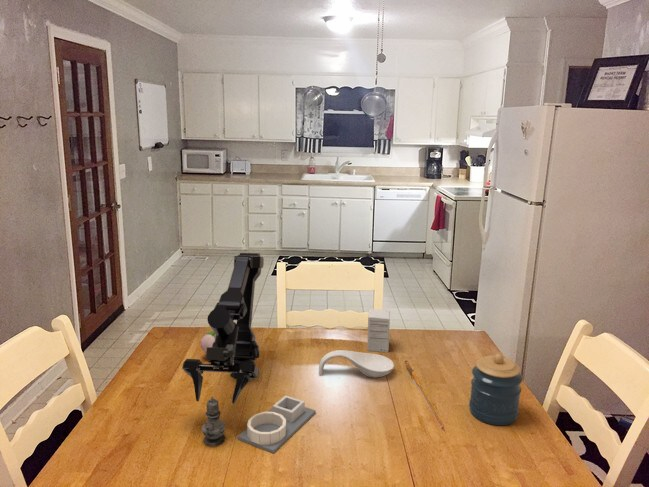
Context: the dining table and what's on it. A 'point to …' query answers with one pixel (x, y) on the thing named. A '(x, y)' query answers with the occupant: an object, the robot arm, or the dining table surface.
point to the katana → (415, 379)
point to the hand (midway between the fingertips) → (215, 402)
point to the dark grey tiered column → (213, 425)
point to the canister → (495, 390)
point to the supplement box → (378, 330)
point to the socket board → (276, 424)
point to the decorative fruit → (207, 340)
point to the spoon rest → (362, 362)
